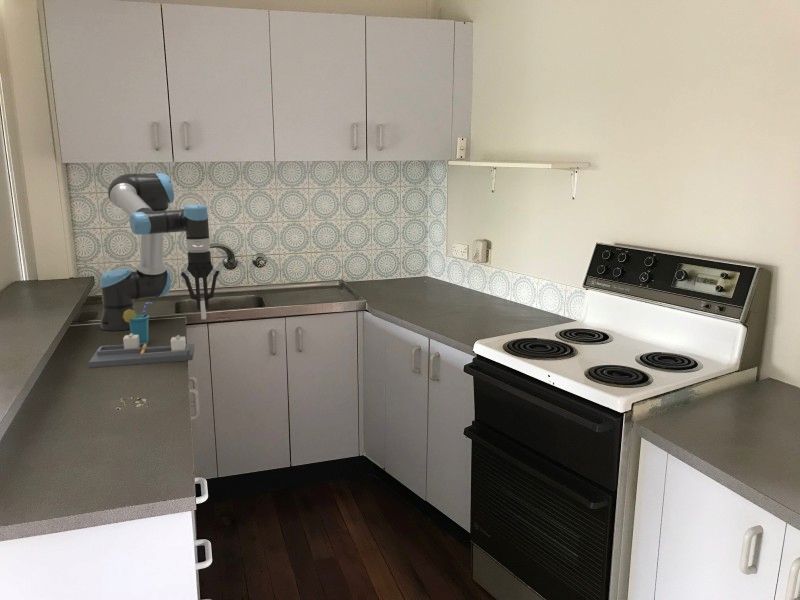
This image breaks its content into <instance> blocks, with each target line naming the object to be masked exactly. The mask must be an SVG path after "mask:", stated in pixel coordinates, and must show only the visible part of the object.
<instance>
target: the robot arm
mask: <svg viewBox="0 0 800 600" xmlns="http://www.w3.org/2000/svg"><path fill="white" fill-rule="evenodd" d="M174 191H175V190H174V185H173V184H172V180H171V179H170V177H169V175H167V174H166V173H161V172H159V173H158V172H154V173H153V172H151V173H125V174H121V175H119V176H117V177H115V178H114V179H113V180H112V181H111V183H110V184H109V186H108V188H107V195H108V198H109V200H110V202H111V203H112V204H113V205H114V206H116V207H117V208H119V209H120V208H121V210H122V211H123V212H124V213H125V214H126V215H127V216H128V218H129V226H130V229H131V231H132V234H134V235H135V236H136V235H138V236H139V235H140V262H139V263H138V264H137V265H136V271H132V270H131V269H130V268H117V269H113V270H109V271H106V272H104V273H102V275H101V276H100V288H101V297H102V305H103V306H102V307H103V309H102V315H101V318H100V330H103V331H109V332H110V331H111V332H115V331H116V332H117V331H125V330H130V326H129V322H125V321H124V319H123V314H124V312H125V311H126V310H128V309H131V310H134V311H135V313H136V314H138V312H137V311H136V308H135V302H134V301H135V300H142V299H149V298H150V299H151V298H159V297H163V296H167V295H168V294H169V292H170V291H171V286H172V276H171V271H170V270H169V269H168V268H167V265H165V264H164V263H163V262H164V261H163V260H164V259H163V258H164V234H166V233H167V234H168V233H169V234H170V233H181V232H182V233H183V232H185V238H186V250H187V266H186V269H185V270H184V271H181V272H180V275H181V277H182V278H183V279H184V282H185V284H186V287H187V290H188V293H189V295H190V299H192V300H195V301H196V308H197V310H200V316H201V318H200V319H201V320H206V319H207V310H208V309H209V307H210V305H209V300H210V299H213V298H214V294H215V289H216V283H217V278H218V276H219V275H220V269H217V268H215V267H214V265H213V264H212V257H211V255H212V254H211V251H210V250H211V243H210V241H211V239H210V229H209V225H210V224H209V214H208V207H207V206H206V205H205V204H187V205H185V206H184V208H181V209H180V208H178V209H173V210H172V209H171V210H168V209H169V204H172V203H174V200H175V192H174ZM211 272H212V273H211ZM210 273H211V274H212V275H213V276H212V281H211V288H210V292H209V290H208V288H209V287H208V277H209V275H210ZM190 274H191V276H192V277H193V278H194V283H195V292H194V289H193V286H192V284H191V280H190V278H189V276H190ZM200 279H202V285H203V298H201V285H200Z"/></svg>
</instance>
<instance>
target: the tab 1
mask: <svg viewBox="0 0 800 600" xmlns="http://www.w3.org/2000/svg"><path fill="white" fill-rule="evenodd" d="M122 340H123V345H124V349H132V348H140V344H139V335H133V333H131V332H130V333H129V334H126V335H124V336H123V338H122Z"/></svg>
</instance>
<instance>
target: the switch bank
mask: <svg viewBox="0 0 800 600" xmlns="http://www.w3.org/2000/svg"><path fill="white" fill-rule="evenodd" d="M139 344H140V348H132V349H124V344H115V345H114V344H112V345H101V346H98V348H97V350H96V351H95V353H94V354H93V355H92V357H91V359H90V360H89V361H88V367H89V369H92V368H105V367H119V366H133V365H144V364H145V365H146V364H160V363H173V362H186V361H187V362H188V361H193V360H194V354H195V349H196V348H195V343H186V350H181V351H171V344H169V345H158V346H157V345H156V346H147V345H148V344H146V343H139Z"/></svg>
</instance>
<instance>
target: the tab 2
mask: <svg viewBox="0 0 800 600" xmlns="http://www.w3.org/2000/svg"><path fill="white" fill-rule="evenodd" d="M186 341H187V340H186V336H180V334H178V335H176V336H172V337H171V339H170V345H171V351H181V350H186V344H187V342H186Z"/></svg>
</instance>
